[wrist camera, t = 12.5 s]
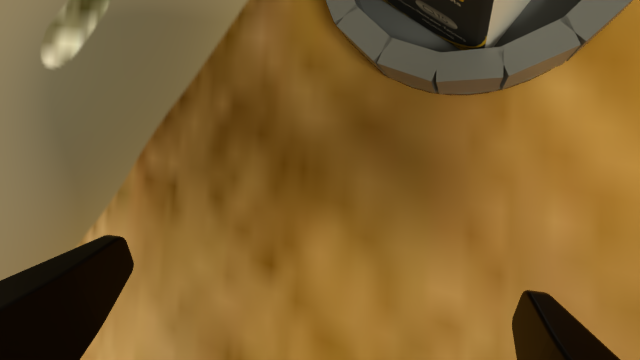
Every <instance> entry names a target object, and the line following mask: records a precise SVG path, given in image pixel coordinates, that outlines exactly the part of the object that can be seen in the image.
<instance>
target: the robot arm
mask: <svg viewBox="0 0 640 360" xmlns="http://www.w3.org/2000/svg"><path fill="white" fill-rule="evenodd" d="M133 267H134V262H133V259H132V256H131V253H130V250H129V247H128V245H127V242H126V240H125V239H124V238H123V237H120V236H112V235H106V236H103V237H100V238H98V239H96V240H93V241H91V242H89V243H86V244H84V245H82V246H79V247H77V248H75V249H73V250H70V251H68V252H66V253H63V254H61V255H59V256H57V257H54V258H52V259H50V260H47V261H45V262H42V263H40V264H38V265H36V266H33V267H31V268H29V269H26V270H24V271H22V272H20V273H17V274H15V275H12V276H10V277H8V278H6V279H3V280H1V281H0V360H80V358H81V357H82V356H83V354H84V353H85V351H86V350H87V348H88V347H89V345H90V344H91V342H92V341H93V339H94V338H95V336H96V335H97V333H98V332H99V330H100V329H101V327H102V325H103V323H104V322H105V320H106V318H107V316H108V315H109V313H110V311H111V309H112V307H113V306H114V304H115V302H116V300H117V298H118V297H119V295H120V293H121V291H122V289H123V287H124V286H125V284H126V282H127V280H128V278H129V277H130V275H131V273H132V271H133ZM512 330H513V337H514V343H515V350H516V356H517V360H620V359H619V358H618V357H617V356H616V355H615V354H614V353H613V352H611V351H610V350H609V349H608V348H607V347H606V346H605V345H604V344H603V343H602V342H601V341H600V340H598V339H597V338H596V337H595V336H594V335H593V334H592V333H591V332H590V331H589V330H588V329H586V328H585V327H584V326H583V325H582V324H581V323H580V322H579V321H578V320H577V319H576V318H575V317H573V316H572V315H571V314H570V313H569V312H568V311H567V310H566V309H565V308H564V307H563V306H561V305H560V304H559V303H558V302H557V301H556V300H555V299H554V298H553V297H552V296H550V295H549V294H547V293H545V292H537V291H530V290H527V291H524V292H523V293H522V295H521V297H520V300H519V303H518V305H517V308H516V311H515V313H514V316H513V320H512Z"/></svg>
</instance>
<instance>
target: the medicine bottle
mask: <svg viewBox="0 0 640 360" xmlns="http://www.w3.org/2000/svg"><path fill="white" fill-rule="evenodd" d="M383 1H385V2H386V3H388V4H389V5H391V6H392V7H394V8H396V9H397V10H399V11H400V12H402V13H404V14H405V15H407V16H408V17H410V18H411V19H413V20H415V21H416V22H418V23H419V24H421V25H422V26H424V27H426V28H427V29H429V30H430V31H432V32H434V33H435V34H437V35H438V36H440V37H441V38H443V39H445V40H446V41H448V42H449V43H451V44H453V45H454V46H456V47H457V48H459V49H460V50H472V49H483V48H493V47H494V46H495V44H496V43H497V42H498V41H499V39H500V38H501V37H502V36H503V34H504V33H505V32H506V31H507V29H508V28H509V27H510V26H511V24H512V23H513V22H514V21H515V19H516V18H517V17H518V16H519V14H520V13H521V12H522V11H523V9H524V8H525V7H526V6H527V4H528V3H529V2H530V1H531V0H383Z"/></svg>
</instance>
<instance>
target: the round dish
mask: <svg viewBox="0 0 640 360" xmlns="http://www.w3.org/2000/svg"><path fill="white" fill-rule="evenodd" d="M632 1H633V0H531V1H530V2H529V3H528V4H527V6H526V7H525V8H524V9H523V11H522V12H521V13H520V14H519V16H518V17H517V18H516V19H515V21H514V22H513V23H512V24H511V26H510V27H509V28H508V29H507V31H506V32H505V33H504V34H503V36H502V37H501V38H500V39H499V41H498V42H497V43H496V44H495V46H494V47H493V48H483V49H472V50H460V49H459V48H457V47H456V46H454V45H453V44H451V43H449V42H448V41H446V40H445V39H443V38H441V37H440V36H438V35H437V34H435V33H434V32H432V31H430V30H429V29H427V28H426V27H424V26H422V25H421V24H419V23H418V22H416V21H415V20H413V19H411V18H410V17H408V16H407V15H405V14H404V13H402V12H400V11H399V10H397V9H396V8H394V7H392V6H391V5H389V4H388V3H386V2H385V1H383V0H326V2H327V5H328V8H329V10H330V13H331V15H332V18H333V20H334V23H335V24H336V25H337V27H338V28H339V29H340V30H341V32H342V33H343V34H344V35H345V36H346V37H347V38H348V40H349V41H350V42H351V43H352V44H353V45H354V46H355V47H356V48H357V49H358V50H359V51H360V52H361V53H362V54H363V55H364V56H365V57H366V58H367V59H368V60H369V61H370V62H371V63H372V64H373V65H375V66H376V67H377V68H378V69H379V70H380V71H381V72H382V73H383V74H384V75H387V76H388V77H389V78H391V79H394V80H396V81H398V82H400V83H402V84H405V85H407V86H409V87H412V88H415V89H418V90H422V91H426V92H429V93H435V94H444V95H474V94H483V93H489V92H494V91H498V90H503V89H506V88H510V87H513V86H515V85H518V84H521V83H524V82H527V81H529V80H531V79H533V78H535V77H537V76H539V75H541V74H544V73H546V72H548V71H550V70H551V69H553V68H555V67H557V66H560V65H562V64H563V63H564V62H565V61H568V60H569V59H570V58H571V57H572V56H574V55H575V54H576V53H577V52H578V51H579V50H580V49H581V48H582V47H584V46H585V45H586V44H587V43H588V42H589V41H590V40H591V39H592V38H593V37H595V36H596V35H597V34H598V33H599V32H600V31H601V30H602V29H603V28H605V27H606V26H607V25H608V24H609V23H610V22H611V21H612V20H613V19H615V18H616V17H617V16H618V15H619V14H620V13H621V12H622V11H623V10H624V9H625V8H626V7H627V6H628V5H629V4H630V3H631V2H632Z"/></svg>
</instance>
